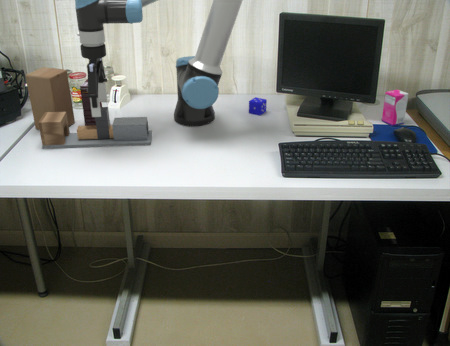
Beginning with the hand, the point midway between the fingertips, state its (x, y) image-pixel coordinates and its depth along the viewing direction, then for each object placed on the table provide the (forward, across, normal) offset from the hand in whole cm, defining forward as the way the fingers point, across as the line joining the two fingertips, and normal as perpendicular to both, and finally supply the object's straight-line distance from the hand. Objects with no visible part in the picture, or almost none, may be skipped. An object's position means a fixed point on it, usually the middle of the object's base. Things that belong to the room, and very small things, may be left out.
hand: (99, 108), depth 164 cm
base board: (+11, 0, -1) cm, 11 cm away
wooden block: (+12, -14, -19) cm, 26 cm away
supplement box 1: (+12, -14, -5) cm, 19 cm away
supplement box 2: (+10, -8, +103) cm, 104 cm away
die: (+11, -22, +55) cm, 60 cm away
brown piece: (+10, 0, +3) cm, 10 cm away
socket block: (+12, 0, -15) cm, 19 cm away
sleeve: (+11, 0, +10) cm, 15 cm away
